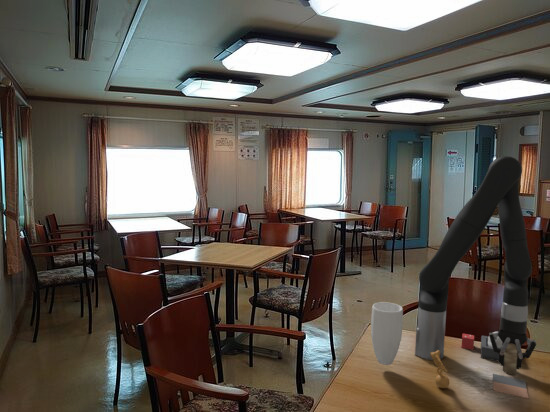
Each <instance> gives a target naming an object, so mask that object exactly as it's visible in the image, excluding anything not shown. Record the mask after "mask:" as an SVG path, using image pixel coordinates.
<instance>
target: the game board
mask: <svg viewBox="0 0 550 412" xmlns="http://www.w3.org/2000/svg"><path fill="white" fill-rule="evenodd" d="M492 385H493V386H492V387H493V392H498V393H501V394H505V395H506V394H507V395H509V396H514V397H519V398H523V399H526V400H529V394H528V389H527V384H526V380H524V379H521V378H520V379H519V378H515V377H510V376H505V375H500V374H497V373H496V374H495V373H492Z"/></svg>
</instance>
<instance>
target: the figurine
mask: <svg viewBox="0 0 550 412" xmlns="http://www.w3.org/2000/svg"><path fill="white" fill-rule="evenodd" d="M430 355H431V358H432V359H433V360H432V361H433V362H434V364H435V366H437V368H436V370H437V371H436V372H437V375H436V377H435V381H434V382H435V384H436V386H437V387H438V388H440V389H446V388H448V387H449V385H450V379H449V377H448V376H446V374H443V373H444V371H445V373H448V369H447V368H446V366H445V365H444V364H443V362H442V361H441V360H442V359H441V360H440V356H439V355H440V350H437V351H436V352H431V353H430Z"/></svg>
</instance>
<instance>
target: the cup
mask: <svg viewBox="0 0 550 412" xmlns="http://www.w3.org/2000/svg"><path fill="white" fill-rule="evenodd" d="M403 316H404V308H403V307H402V305H400V304H397V303H393V302H387V301H380V302H379V301H378V302H375V303H373V304H372V307H371V317H370V330H371V331H370V333H371V334H370V336H371V342H372V347H373V351H374V355H375V358H376V360H377V362H378V363H379V364H381V365H383V366H390V365H392V364H393V362H394V361H395V359H396V357H397V354H398V352H399V349H400V346H401V341H402V335H403V325H404V321H403V319H404V317H403Z"/></svg>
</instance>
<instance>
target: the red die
mask: <svg viewBox="0 0 550 412" xmlns="http://www.w3.org/2000/svg"><path fill="white" fill-rule="evenodd" d="M461 335H462V336H461V346H460V347H461V348H462V349H467V350H471V351H474V348H475V347H474V346H475V344H474V343H475V335H473V334H469V333H468V334H467V333H462V334H461Z"/></svg>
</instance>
